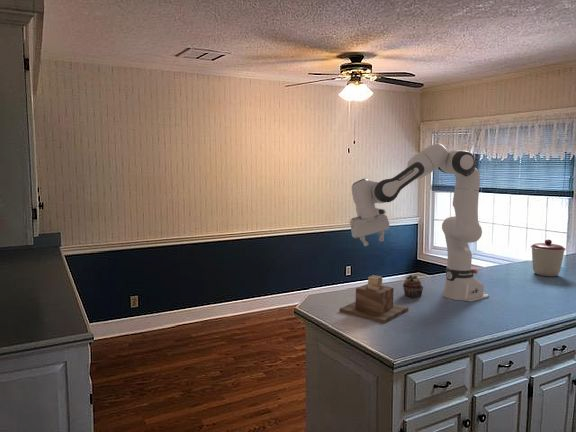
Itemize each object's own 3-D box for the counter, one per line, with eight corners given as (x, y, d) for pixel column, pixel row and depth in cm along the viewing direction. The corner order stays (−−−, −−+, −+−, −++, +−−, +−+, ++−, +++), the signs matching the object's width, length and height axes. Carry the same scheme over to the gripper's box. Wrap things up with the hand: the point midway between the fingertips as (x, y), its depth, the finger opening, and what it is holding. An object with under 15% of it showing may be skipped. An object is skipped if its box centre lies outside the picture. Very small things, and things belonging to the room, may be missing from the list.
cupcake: (422, 299, 222) (423, 279, 221) (401, 297, 226) (402, 277, 224) (423, 294, 231) (424, 274, 230) (403, 292, 235) (404, 273, 233)
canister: (564, 273, 277) (566, 238, 274) (563, 280, 262) (566, 243, 259) (530, 269, 287) (532, 236, 284) (527, 275, 271) (529, 240, 269)
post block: (365, 300, 220) (365, 279, 219) (408, 310, 206) (409, 287, 205) (339, 311, 203) (339, 288, 202) (384, 323, 189) (385, 298, 188)
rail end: (372, 299, 207) (373, 275, 206) (381, 301, 204) (382, 276, 203) (367, 301, 204) (368, 277, 203) (376, 303, 201) (377, 278, 200)
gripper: (353, 217, 205) (360, 248, 205) (387, 209, 215) (395, 238, 215) (345, 219, 211) (352, 249, 210) (379, 211, 221) (386, 239, 220)
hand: (374, 243), depth 212 cm, fingers open, 8 cm apart
